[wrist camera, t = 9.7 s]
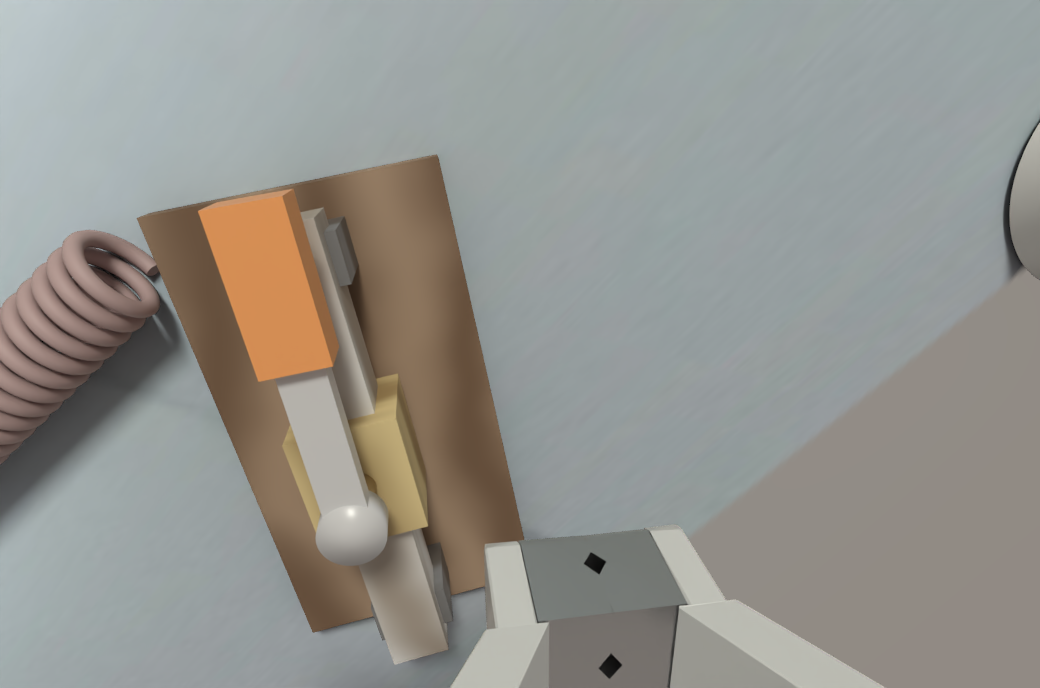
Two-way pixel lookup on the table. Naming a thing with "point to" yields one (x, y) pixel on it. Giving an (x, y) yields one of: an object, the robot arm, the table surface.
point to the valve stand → (366, 398)
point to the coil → (67, 327)
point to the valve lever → (297, 359)
